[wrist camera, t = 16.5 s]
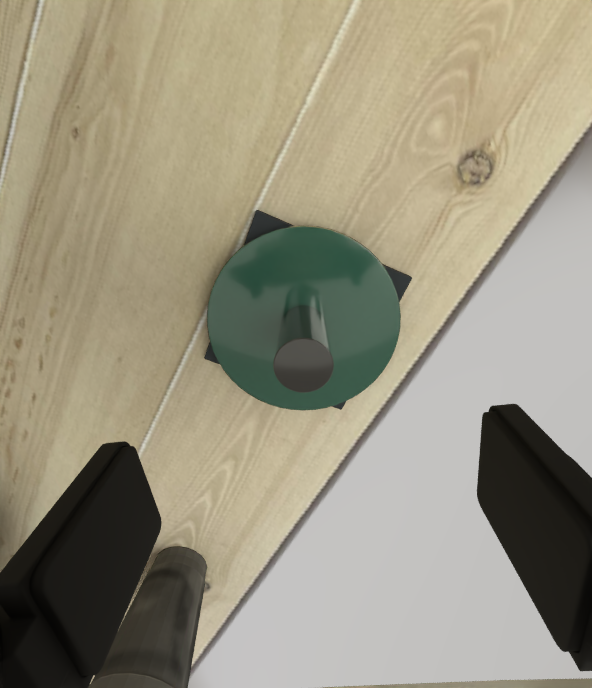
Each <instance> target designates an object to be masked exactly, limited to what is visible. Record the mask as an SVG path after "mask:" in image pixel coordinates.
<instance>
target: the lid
mask: <svg viewBox="0 0 592 688" xmlns="http://www.w3.org/2000/svg"><path fill="white" fill-rule="evenodd" d="M400 318H401V314H400V304H399V300H398V296H397V291H396V289H395V286H394V284H393V281H392V279H391V277H390V276H389V274H388V272H387V270H386V269H385V267H384V266H383V265H382V263H381V262H380V261H379V260H378V258H377V257H376V256H375V255H374V254H373V253H371V252H370V251H369V250H368V249H367V248H366V247H365V246H363V245H362V244H360V243H359V242H358V241H356V240H355V239H353V238H351V237H349V236H347V235H345V234H343V233H340V232H337V231H334V230H332V229H327V228H323V227H318V226H290V227H285V228H281V229H276V230H274V231H271V232H268V233H265V234H263V235H261V236H259V237H257V238H255V239H253V240H252V241H250V242H249V243H248V244H246V245H245V246H243V247H242V248H241V249H240V250H239V251H237V252H236V253H235V254H234V255H233V256H232V257H231V258H230V260H229V261H228V262H227V263H226V265H225V266H224V267H223V268H222V270H221V272H220V274H219V275H218V277H217V279H216V281H215V283H214V286H213V288H212V291H211V295H210V298H209V302H208V311H207V327H208V333H209V339H210V342H211V345H212V349H213V351H214V353H215V356H216V358H217V360H218V362H219V363H220V365H221V366H222V368H223V370H224V371H225V372H226V373H227V375H228V376H229V377H230V378H231V379H232V380H233V381H234V382H235V383H236V384H237V385H238V386H239V387H240V388H241V389H243V390H244V391H245V392H247V393H248V394H250V395H251V396H253V397H255V398H257V399H258V400H261V401H263V402H265V403H267V404H270V405H273V406H277V407H280V408H286V409H291V410H316V409H322V408H327V407H330V406H334V405H337V404H340V403H342V402H345V401H347V400H349V399H351V398H353V397H354V396H356V395H358V394H359V393H361V392H362V391H363V390H365V389H366V388H367V387H368V386H369V385H371V384H372V383H373V382H374V381H375V380H376V379H377V378H378V376H379V375H380V374H381V373H382V372H383V370H384V369H385V367H386V366H387V364H388V362H389V361H390V359H391V357H392V354H393V352H394V350H395V347H396V344H397V341H398V336H399V331H400Z"/></svg>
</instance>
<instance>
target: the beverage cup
mask: <svg viewBox="0 0 592 688" xmlns="http://www.w3.org/2000/svg"><path fill="white" fill-rule="evenodd" d="M206 570H207V565H206V562H205V560H204V559H203V557H202V556H201V555H200V554H198V553H197V552H196V551H193V550H191V549H188V548H183V547H171V548H168V549H165V550H163V551H162V552H160V553H159V554H158V556H157V558H156V560H155V562H154V564H153V566H152V567H151V569H150V570H149V572H148V574H147V575H146V577H145V579H144V581H143V583H142V585H141V587H140V589H139V591H138V593H137V595H136V597H135V599H134V601H133V603H132V605H131V606H130V608H129V610H128V612H127V614H126V616H125V618H124V620H123V622H122V624H121V626H120V628H119V630H118V632H117V634H116V636H115V639H114V641H113V643H112V646H111V648H110V650H109V653H108V655H107V658H106V660H105V662H104V665H103V667H102V668H101V670H100V671H99V673H97V674H96V675H95V677H94V679H93V681H92V683H91V684H90V685H89V686H88V688H188V682H189V676H190V670H191V664H192V658H193V652H194V646H195V640H196V634H197V628H198V622H199V616H200V610H201V605H202V599H203V593H204V587H205V583H204V582H205V574H206Z"/></svg>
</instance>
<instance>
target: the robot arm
mask: <svg viewBox="0 0 592 688" xmlns="http://www.w3.org/2000/svg"><path fill="white" fill-rule="evenodd" d="M477 497H478V501H479V504H480V506H481V508H482V510H483V512H484V514H485V515H486V517H487V519H488V521H489V523H490V525H491V526H492V528H493V530H494V532H495V534H496V535H497V537H498V539H499V541H500V543H501V544H502V546H503V548H504V550H505V552H506V553H507V555H508V557H509V559H510V561H511V563H512V564H513V566H514V568H515V570H516V572H517V574H518V575H519V577H520V579H521V581H522V582H523V584H524V586H525V588H526V590H527V591H528V593H529V595H530V597H531V599H532V601H533V603H534V604H535V606H536V608H537V610H538V611H539V613H540V615H541V617H542V619H543V620H544V622H545V624H546V626H547V628H548V630H549V631H550V633H551V635H552V637H553V639H554V641H555V642H556V644H557V645H558V647H559V648H560V649H561V650H562V651H564V652H567V651H569V653H570V654H571V656H572V658H573V659H574V661H575V663H576V665H577V667H578V668H579V670H580V671H592V478H591V477H590V476H589V475H588V474H587V473H586V472H585V471H584V470H583V469H582V468H581V467H580V466H579V465H578V464H577V463H576V462H575V461H574V460H573V459H572V458H571V457H570V456H568V455H567V454H566V453H565V452H564V451H563V450H562V449H561V448H560V447H558V445H557V444H556V443H555V442H554V441H553V440H552V439H551V438H550V437H549V436H548V435H547V434H546V433H545V432H544V431H543V430H542V429H541V428H540V427H539V426H538V425H537V424H536V423H535V422H534V421H533V420H532V419H531V418H530V417H529V416H528V415H527V414H526V413H525V412H524V411H523V410H522V409H521V408H520V407H519V406H518V405H517V404H507V405H497V406H491V407H490V409H489V412H485V413H484V414H483V417H482V430H481V443H480V457H479V470H478V485H477ZM160 530H161V517H160V514H159V511H158V508H157V506H156V503H155V500H154V497H153V495H152V492H151V489H150V486H149V484H148V481H147V478H146V475H145V473H144V470H143V467H142V465H141V462H140V459H139V456H138V454H137V451H136V449H135V448H134V447H133V446H130V445H129V444H128V443H127V442H114V443H105V444H103V445H102V446H101V447H100V448H99V449H98V450H97V452H96V453H95V454H94V456H93V457H92V458H91V459H90V461H89V462H88V463H87V464H86V466H85V467H84V468H83V469H82V471H81V472H80V473H79V474H78V476H77V477H76V478H75V479H74V481H73V482H72V483H71V484H70V486H69V487H68V488H67V489H66V491H65V492H64V493H63V495H62V496H61V497H60V498H59V500H58V501H57V502H56V503H55V505H54V506H53V507H52V508H51V510H50V511H49V512H48V513H47V515H46V516H45V517H44V518H43V520H42V521H41V522H40V523H39V525H38V526H37V527H36V528H35V530H34V531H33V532H32V534H31V535H30V536H29V537H28V539H27V540H26V541H25V542H24V544H23V545H22V546H21V547H20V549H19V550H18V551H17V552H16V554H15V555H14V556H13V557H12V559H11V560H10V561H9V562H8V564H7V565H6V566H5V567H4V569H3V570H2V571H1V572H0V688H88V686H89V684H90V682H91V680H92V677H93V675H96V674H97V673H99V671H100V670H101V668H102V667H103V665H104V662H105V660H106V658H107V655H108V653H109V650H110V648H111V646H112V643H113V641H114V639H115V636H116V634H117V632H118V629H119V627H120V625H121V622H122V620H123V618H124V615H125V613H126V610H127V608H128V606H129V603H130V601H131V599H132V596H133V594H134V592H135V589H136V587H137V585H138V582H139V580H140V577H141V575H142V573H143V570H144V568H145V566H146V563H147V561H148V559H149V556H150V554H151V552H152V549H153V547H154V544H155V542H156V540H157V537H158V535H159V533H160ZM325 688H592V679H547V680H546V679H545V680H544V679H543V680H499V681H472V682H447V683H421V684H395V685H370V686H347V687H325Z"/></svg>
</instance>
